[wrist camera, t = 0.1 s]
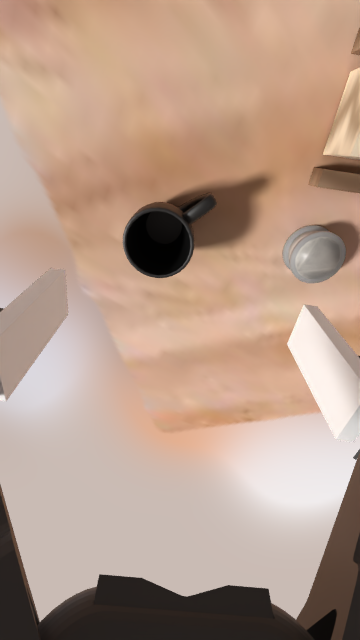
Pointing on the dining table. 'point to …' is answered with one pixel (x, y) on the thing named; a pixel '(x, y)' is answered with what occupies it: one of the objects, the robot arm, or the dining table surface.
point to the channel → (332, 177)
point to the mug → (164, 236)
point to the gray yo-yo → (314, 254)
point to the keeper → (347, 122)
